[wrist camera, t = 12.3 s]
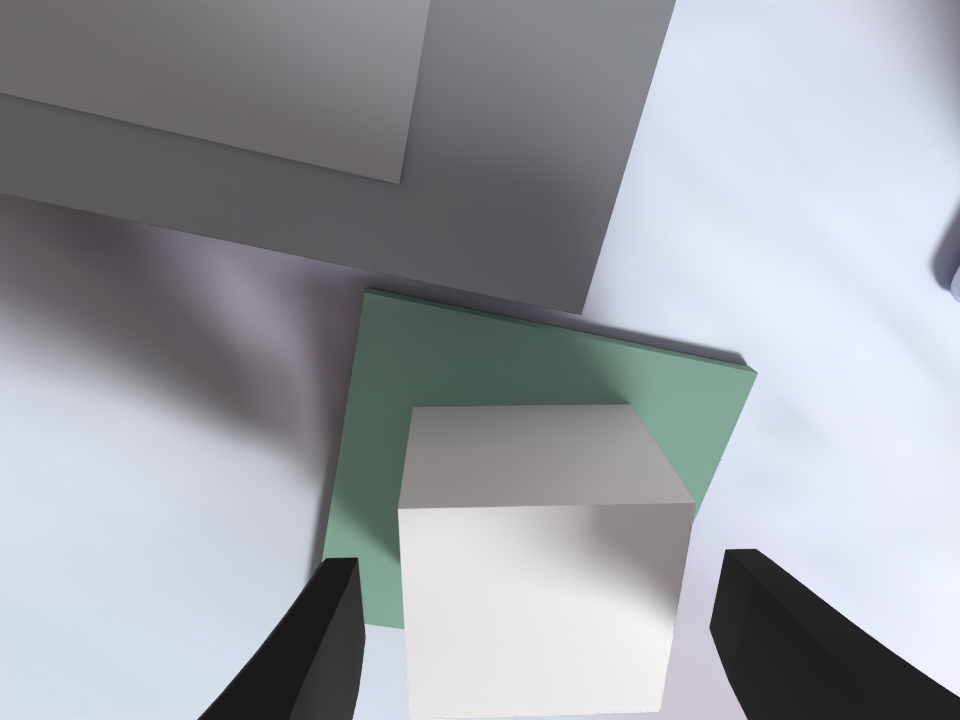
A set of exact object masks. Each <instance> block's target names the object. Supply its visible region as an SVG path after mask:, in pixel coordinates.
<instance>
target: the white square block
mask: <svg viewBox="0 0 960 720" xmlns="http://www.w3.org/2000/svg"><path fill="white" fill-rule="evenodd" d="M695 506H696V502H695V501H694V499H693V498H692V496H691V495H690V493H689V492H688V490H687V489H686V487H685V485H684V484H683V482H682V481H681V479H680V478H679V476H678V475H677V473H676V472H675V470H674V469H673V467H672V466H671V464H670V463H669V461H668V460H667V458H666V457H665V455H664V454H663V452H662V451H661V449H660V448H659V446H658V445H657V443H656V442H655V440H654V439H653V437H652V436H651V434H650V433H649V431H648V430H647V428H646V427H645V425H644V424H643V422H642V421H641V419H640V418H639V416H638V415H637V413H636V412H635V410H634V409H633V407H632V406H631V404H600V405H524V406H447V407H413V411H412V417H411V424H410V431H409V438H408V444H407V451H406V458H405V465H404V471H403V478H402V485H401V492H400V498H399V505H398V520H399V538H400V556H401V574H402V593H403V611H404V629H405V647H406V666H407V684H408V702H409V720H445V719H472V718H499V717H526V716H553V715H580V714H607V713H634V712H660V706H661V700H662V695H663V689H664V683H665V677H666V672H667V666H668V660H669V655H670V649H671V643H672V637H673V632H674V626H675V620H676V614H677V609H678V603H679V597H680V592H681V586H682V580H683V574H684V569H685V563H686V557H687V551H688V546H689V540H690V534H691V528H692V523H693V517H694V511H695Z"/></svg>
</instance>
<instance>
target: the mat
mask: <svg viewBox="0 0 960 720" xmlns="http://www.w3.org/2000/svg"><path fill="white" fill-rule="evenodd" d="M757 374H758V373H757V372H756V371H755V370H753V369H752V368H751V367H749V366H744V365H740V364H735V363H730V362H725V361H720V360H715V359H710V358H706V357H701V356H696V355H691V354H686V353H681V352H676V351H672V350H667V349H662V348H657V347H652V346H647V345H643V344H638V343H633V342H628V341H623V340H618V339H613V338H609V337H604V336H599V335H594V334H589V333H584V332H579V331H575V330H570V329H565V328H560V327H555V326H550V325H546V324H541V323H536V322H531V321H526V320H521V319H516V318H512V317H507V316H502V315H497V314H492V313H487V312H482V311H478V310H473V309H468V308H463V307H458V306H453V305H448V304H444V303H439V302H434V301H429V300H424V299H419V298H415V297H410V296H405V295H400V294H395V293H390V292H385V291H381V290H376V289H371V288H366V290H365V292H364V297H363V303H362V310H361V316H360V322H359V329H358V335H357V341H356V348H355V354H354V360H353V367H352V373H351V379H350V386H349V392H348V398H347V405H346V411H345V417H344V424H343V430H342V436H341V443H340V449H339V455H338V462H337V468H336V474H335V481H334V487H333V493H332V500H331V506H330V512H329V519H328V525H327V531H326V538H325V544H324V550H323V557H322V562H323V561H324V560H325V559H326V558H349V557H358V561H359V572H360V582H361V593H362V604H363V615H364V624H371V625H378V626H386V627H393V628H400V629H404V611H403V593H402V574H401V556H400V538H399V520H398V505H399V498H400V492H401V485H402V478H403V471H404V465H405V458H406V451H407V444H408V438H409V431H410V424H411V417H412V411H413V407H447V406H524V405H600V404H631V406H632V407H633V409H634V410H635V412H636V413H637V415H638V416H639V418H640V419H641V421H642V422H643V424H644V425H645V427H646V428H647V430H648V431H649V433H650V434H651V436H652V437H653V439H654V440H655V442H656V443H657V445H658V446H659V448H660V449H661V451H662V452H663V454H664V455H665V457H666V458H667V460H668V461H669V463H670V464H671V466H672V467H673V469H674V470H675V472H676V473H677V475H678V476H679V478H680V479H681V481H682V482H683V484H684V485H685V487H686V489H687V490H688V492H689V493H690V495H691V496H692V498H693V499H694V501H695V502H696V506H695V511H694V517H693V522H694V519H695V517H696V515H697V513H698V510H699V508H700V506H701V503H702V501H703V499H704V496H705V494H706V492H707V489H708V487H709V485H710V483H711V480H712V478H713V476H714V473H715V471H716V469H717V466H718V464H719V462H720V460H721V457H722V455H723V453H724V450H725V448H726V446H727V443H728V441H729V439H730V436H731V434H732V432H733V430H734V427H735V425H736V423H737V420H738V418H739V416H740V413H741V411H742V409H743V407H744V404H745V402H746V400H747V397H748V395H749V393H750V390H751V388H752V386H753V383H754V381H755V379H756V377H757ZM692 524H693V523H692Z"/></svg>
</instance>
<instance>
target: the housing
mask: <svg viewBox="0 0 960 720" xmlns="http://www.w3.org/2000/svg"><path fill="white" fill-rule="evenodd" d="M675 2H676V0H0V193H2V194H6V195H11V196H16V197H21V198H25V199H30V200H35V201H40V202H45V203H49V204H54V205H59V206H64V207H68V208H73V209H78V210H83V211H87V212H92V213H97V214H102V215H106V216H111V217H116V218H121V219H125V220H130V221H135V222H140V223H145V224H149V225H154V226H159V227H164V228H168V229H173V230H178V231H183V232H187V233H192V234H197V235H202V236H206V237H211V238H216V239H221V240H226V241H230V242H235V243H240V244H245V245H249V246H254V247H259V248H264V249H268V250H273V251H278V252H283V253H287V254H292V255H297V256H302V257H307V258H311V259H316V260H321V261H326V262H330V263H335V264H340V265H345V266H349V267H354V268H359V269H364V270H368V271H373V272H378V273H383V274H388V275H392V276H397V277H402V278H407V279H411V280H416V281H421V282H426V283H430V284H435V285H440V286H445V287H449V288H454V289H459V290H464V291H469V292H473V293H478V294H483V295H488V296H492V297H497V298H502V299H507V300H511V301H516V302H521V303H526V304H530V305H535V306H540V307H545V308H549V309H554V310H559V311H564V312H569V313H573V314H578V315H581V314H582V310H583V307H584V304H585V300H586V297H587V294H588V290H589V287H590V284H591V281H592V277H593V274H594V271H595V267H596V264H597V261H598V257H599V254H600V251H601V247H602V244H603V241H604V237H605V234H606V231H607V228H608V224H609V221H610V218H611V214H612V211H613V208H614V204H615V201H616V198H617V194H618V191H619V188H620V184H621V181H622V178H623V174H624V171H625V168H626V165H627V161H628V158H629V155H630V151H631V148H632V145H633V141H634V138H635V135H636V131H637V128H638V125H639V121H640V118H641V115H642V112H643V108H644V105H645V102H646V98H647V95H648V92H649V88H650V85H651V82H652V78H653V75H654V72H655V68H656V65H657V62H658V59H659V55H660V52H661V49H662V45H663V42H664V39H665V35H666V32H667V29H668V25H669V22H670V19H671V15H672V12H673V9H674V6H675Z"/></svg>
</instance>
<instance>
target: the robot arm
mask: <svg viewBox="0 0 960 720" xmlns="http://www.w3.org/2000/svg"><path fill="white" fill-rule="evenodd" d="M951 294H952V296H953V297H954V299H955V300H956V301H958V302H960V266H959V268H958V270H957V272H956V274H955V276H954V278H953V281H952V284H951ZM710 631H711V634H712V637H713V640H714V643H715V645H716V648H717V651H718V654H719V657H720V660H721V662H722V665H723V667H724V670H725V673H726V675H727V678H728V680H729V683H730V685H731V687H732V689H733V691H734V693H735V695H736V697H737V699H738V701H739V703H740V705H741V707H742V709H743V711H744V713H745V715H746V717H747V719H748V720H960V697H958V696H957V695H955V694H954V693H952V692H951V691H949V690H948V689H946V688H945V687H943V686H941V685H940V684H938V683H937V682H935V681H934V680H932V679H931V678H929V677H928V676H927V675H925V674H924V673H922V672H921V671H919V670H918V669H916V668H915V667H914V666H912V665H911V664H909V663H908V662H906V661H905V660H904V659H902V658H901V657H899V656H898V655H896V654H895V653H893V652H892V651H891V650H889V649H888V648H886V647H885V646H884V645H882V644H881V643H880V642H878V641H877V640H875V639H874V638H873V637H871V636H870V635H869V634H867V633H866V632H865V631H863V630H862V629H860V628H859V627H858V626H856V625H855V624H854V623H852V622H851V621H850V620H848V619H847V618H846V617H845V616H843V615H842V614H841V613H839V612H838V611H837V610H835V609H834V608H833V607H831V606H830V605H829V604H828V603H826V602H825V601H824V600H822V599H821V598H820V597H818V596H817V595H816V594H815V593H813V592H812V591H811V590H809V589H808V588H807V587H806V586H804V585H803V584H802V583H800V582H799V581H798V580H797V579H795V578H794V577H793V576H791V575H790V574H789V573H788V572H786V571H785V570H784V569H782V568H781V567H780V566H779V565H777V564H776V563H775V562H773V561H772V560H771V559H769V558H768V557H767V556H765V555H764V554H762V553H761V552H760V551H758V550H757V549H726V550H725V555H724V559H723V564H722V569H721V574H720V579H719V584H718V589H717V594H716V598H715V603H714V608H713V613H712V618H711V623H710ZM365 638H366V636H365V626H364V615H363V604H362V593H361V582H360V572H359V561H358V557H349V558H326V559H325V560H324V561H323V562H322V563H321V564H320V565H319V567H318V568H317V570H316V571H315V573H314V574H313V576H312V577H311V579H310V580H309V582H308V583H307V585H306V586H305V588H304V589H303V590H302V592H301V593H300V595H299V596H298V598H297V599H296V600H295V602H294V603H293V604H292V606H291V607H290V609H289V610H288V611H287V613H286V614H285V615H284V617H283V618H282V619H281V621H280V622H279V623H278V625H277V626H276V627H275V629H274V630H273V631H272V632H271V634H270V635H269V636H268V638H267V639H266V640H265V642H264V643H263V644H262V645H261V647H260V648H259V649H258V650H257V652H256V653H255V654H254V655H253V657H252V658H251V659H250V660H249V661H248V663H247V664H246V665H245V666H244V667H243V668H242V670H241V671H240V672H239V673H238V674H237V676H236V677H235V678H234V679H233V680H232V681H231V683H230V684H229V685H228V686H227V687H226V688H225V690H224V691H223V692H222V693H221V694H220V695H219V697H218V698H217V699H216V700H215V701H214V702H213V703H212V704H211V705H210V706H209V708H208V709H207V710H206V711H205V712H204V713H203V714H202V715H201V716H200V717H199V718H198V719H197V720H352V719H353V714H354V710H355V706H356V701H357V697H358V692H359V685H360V678H361V670H362V662H363V654H364V646H365Z"/></svg>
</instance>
